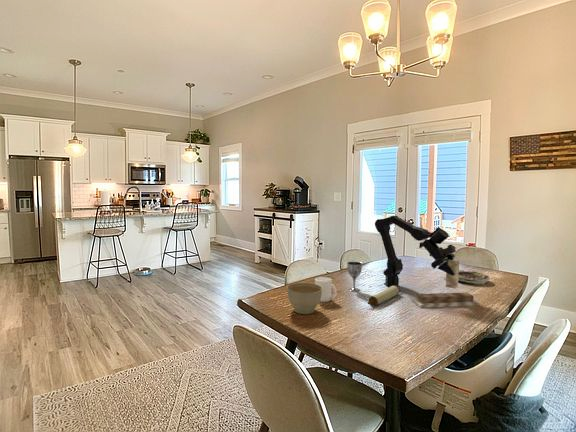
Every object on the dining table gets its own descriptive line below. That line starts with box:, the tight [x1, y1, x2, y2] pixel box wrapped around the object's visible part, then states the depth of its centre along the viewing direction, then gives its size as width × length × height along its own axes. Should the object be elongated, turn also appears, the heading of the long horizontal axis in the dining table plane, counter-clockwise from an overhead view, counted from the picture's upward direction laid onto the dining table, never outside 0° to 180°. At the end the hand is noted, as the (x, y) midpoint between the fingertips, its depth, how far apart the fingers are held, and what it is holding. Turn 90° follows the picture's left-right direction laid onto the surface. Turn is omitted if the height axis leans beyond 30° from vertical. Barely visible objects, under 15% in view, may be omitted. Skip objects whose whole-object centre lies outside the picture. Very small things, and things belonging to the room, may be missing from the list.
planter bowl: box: [286, 282, 322, 315], centre depth 155 cm, size 16×16×11 cm
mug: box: [314, 276, 338, 303], centre depth 169 cm, size 12×8×10 cm
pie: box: [444, 269, 490, 286], centre depth 205 cm, size 28×27×5 cm
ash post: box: [445, 259, 460, 290], centre depth 168 cm, size 4×4×13 cm
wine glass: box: [346, 261, 363, 293], centre depth 185 cm, size 8×8×15 cm
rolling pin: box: [367, 285, 401, 308], centre depth 170 cm, size 32×6×5 cm, turn 137°
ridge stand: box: [410, 292, 481, 308], centre depth 165 cm, size 30×9×4 cm, turn 96°
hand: (455, 274), depth 167 cm, fingers closed on ash post, 4 cm apart
